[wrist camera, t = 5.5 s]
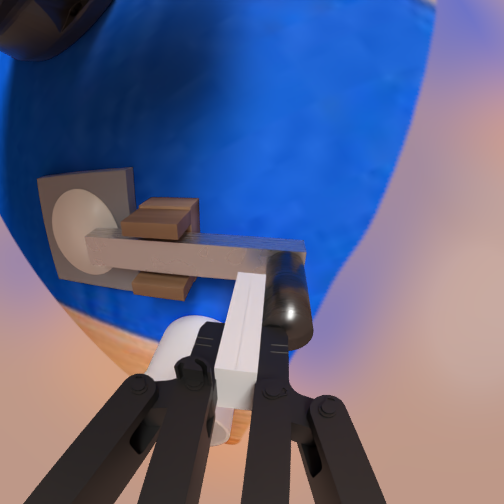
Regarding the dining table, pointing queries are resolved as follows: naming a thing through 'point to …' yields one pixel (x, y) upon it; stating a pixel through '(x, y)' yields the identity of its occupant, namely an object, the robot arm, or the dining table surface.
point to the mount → (163, 227)
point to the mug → (180, 345)
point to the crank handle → (221, 268)
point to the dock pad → (86, 220)
